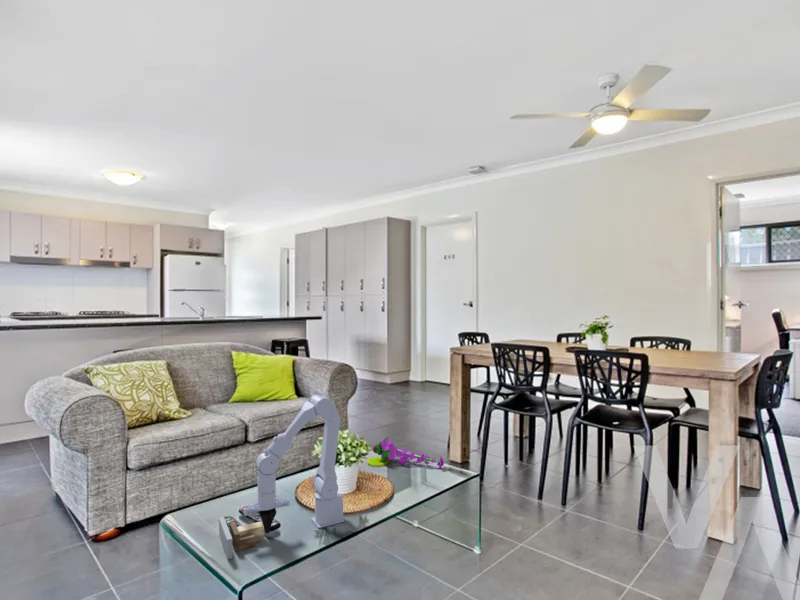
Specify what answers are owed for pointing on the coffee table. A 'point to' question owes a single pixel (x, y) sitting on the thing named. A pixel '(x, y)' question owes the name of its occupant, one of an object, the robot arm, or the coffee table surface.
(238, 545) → the brown u-shaped bracket
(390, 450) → the purple flowers
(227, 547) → the backstop wall
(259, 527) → the cream wooden bar
